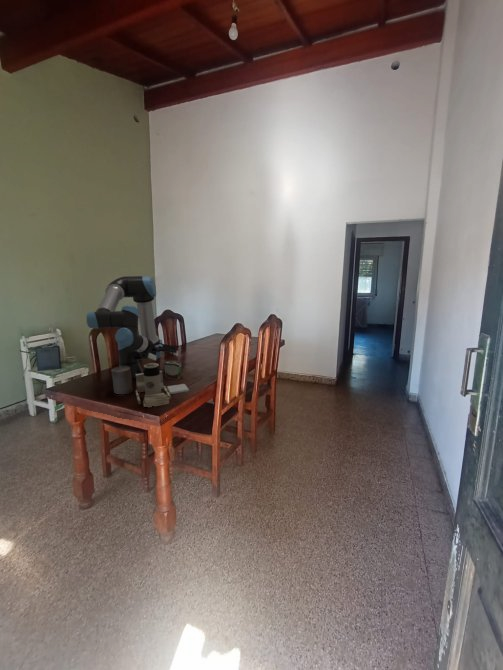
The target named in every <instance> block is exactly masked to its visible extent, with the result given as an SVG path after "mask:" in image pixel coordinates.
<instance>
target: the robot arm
mask: <svg viewBox="0 0 503 670" xmlns="http://www.w3.org/2000/svg"><path fill="white" fill-rule="evenodd" d="M156 287H157V286H156V283H155V280H154V277H152V276H150V275H149V276H148V275H147V276H146V275H135V276H134V275H133V276H131V275H130V276H129V275H128V276H127V275H126V276H120V277H118V278H115V279H114V280H112V281H111V282H110V283H109V284H108V285H107V286H106V288H105V294H104V295H103V296H104V297H103V298H102V300H100V304H99V305H98V307H97V309H96V310H95V311H91V312H88V313H87V314H86V324H87V327H88V328H90V329H110V328H111V329H113V328H116V329H117V328H119V329H118V330H117V331H116V333H115V335H114V339H115V341H116V343H117V352H118V353H117V354H118V362H119V365H118V367H120V366H129V367H130V370H131V378H132V380H134V379H136V374H141V373H144V371H143V368H142V366H141V363H140V360H152V361H157V359H160V358H161V357H162V353H170V354H171V355H174V356H176V357H179V350H177V347H176V345H171V344H165V343H163V340H162V339H160V337H159V336H158V334H157V331H156V323H155V315H154V308H153V301H154V300H155V297H157V288H156ZM123 298H132V299H133V302H134V303H136V306H134V305H128V304H127V305H124V306H122V307H121V310H117V307H118V306H119V305H118V304H119V303H120V301H121V300H123ZM139 327H140V334H139Z"/></svg>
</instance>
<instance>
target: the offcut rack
mask: <svg viewBox="0 0 503 670" xmlns="http://www.w3.org/2000/svg"><path fill="white" fill-rule="evenodd" d="M163 377H164V376H163V370H160V381H161V390H164V392H161V393H159V394H151V395H145V394H144V398H143V401H142V402H141V398H140V393H145V383H144V372H143V373H141V374H136V378H135V381H136V382H135V383H136V390H135V396H136V400H137V403H138V405H142V404H143V408H144V407H148V408H152V406H154V407H158V406H164V405H169V404H170V400H171V399H172V394H170V392H169V391H168V389H167V386H166V385H164V378H163ZM138 392H139V393H138Z"/></svg>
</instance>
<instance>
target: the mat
mask: <svg viewBox="0 0 503 670" xmlns="http://www.w3.org/2000/svg"><path fill="white" fill-rule="evenodd" d="M166 388H167V390H168V392H169V394H170V395H173V394H179V393H185V392H189V391H190V389H189V388H188V386H187V385H186V383H181V384H174V385H168V386H166Z"/></svg>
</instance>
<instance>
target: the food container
mask: <svg viewBox="0 0 503 670" xmlns="http://www.w3.org/2000/svg"><path fill="white" fill-rule="evenodd" d="M163 366H164V367H163V368H164V373H165V379H171V380H177V381H179V380H181V367H183V366H182V362H181V361H179V360H168V361H164V362H163Z"/></svg>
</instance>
